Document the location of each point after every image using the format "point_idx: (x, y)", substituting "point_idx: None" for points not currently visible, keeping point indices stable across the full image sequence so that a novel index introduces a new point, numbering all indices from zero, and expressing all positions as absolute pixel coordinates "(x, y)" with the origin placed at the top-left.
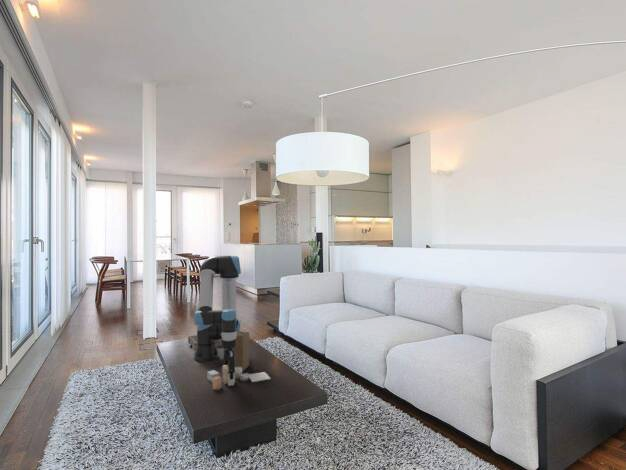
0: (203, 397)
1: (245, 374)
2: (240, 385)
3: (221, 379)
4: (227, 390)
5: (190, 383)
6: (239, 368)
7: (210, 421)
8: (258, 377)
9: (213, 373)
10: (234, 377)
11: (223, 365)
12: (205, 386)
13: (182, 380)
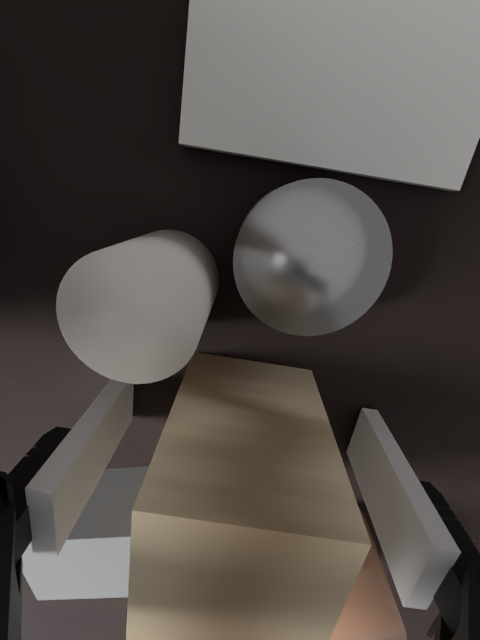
0: (422, 625)
1: (329, 247)
2: (427, 352)
3: (380, 592)
4: (441, 485)
5: (121, 618)
6: (167, 314)
7: None
8: (405, 15)
9: (120, 577)
10: (320, 411)
11: (133, 637)
12: None
13: (39, 634)
